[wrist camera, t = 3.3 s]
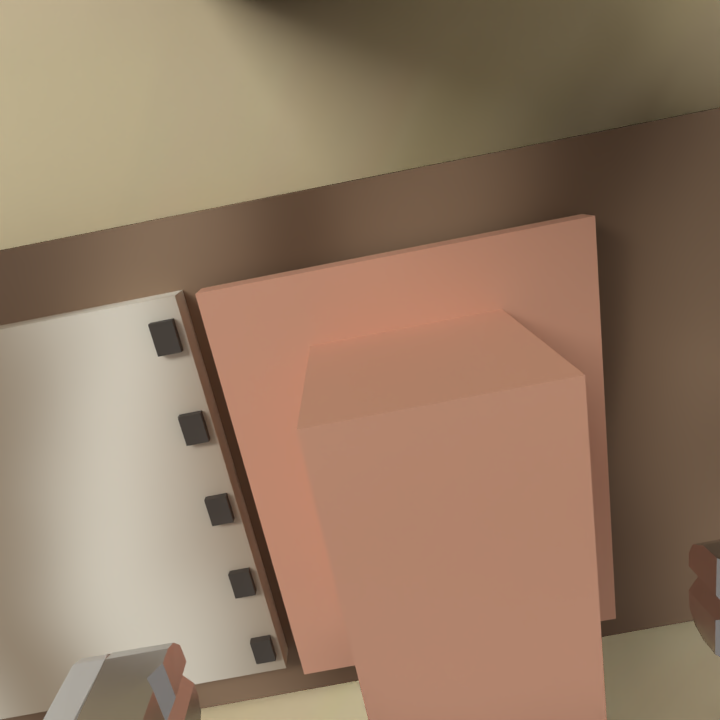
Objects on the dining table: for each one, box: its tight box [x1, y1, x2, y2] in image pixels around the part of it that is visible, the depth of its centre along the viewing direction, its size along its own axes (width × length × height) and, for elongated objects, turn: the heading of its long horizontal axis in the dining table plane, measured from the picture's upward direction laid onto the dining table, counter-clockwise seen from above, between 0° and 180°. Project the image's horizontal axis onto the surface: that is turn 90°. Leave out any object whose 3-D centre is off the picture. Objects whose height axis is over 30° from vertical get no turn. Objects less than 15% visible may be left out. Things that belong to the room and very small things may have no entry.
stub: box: [195, 214, 616, 720], centre depth 11 cm, size 8×10×5 cm
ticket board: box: [0, 108, 720, 720], centre depth 14 cm, size 28×13×2 cm, turn 101°
